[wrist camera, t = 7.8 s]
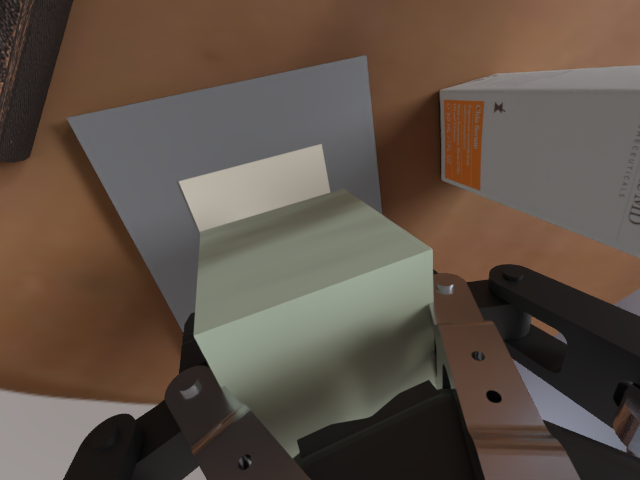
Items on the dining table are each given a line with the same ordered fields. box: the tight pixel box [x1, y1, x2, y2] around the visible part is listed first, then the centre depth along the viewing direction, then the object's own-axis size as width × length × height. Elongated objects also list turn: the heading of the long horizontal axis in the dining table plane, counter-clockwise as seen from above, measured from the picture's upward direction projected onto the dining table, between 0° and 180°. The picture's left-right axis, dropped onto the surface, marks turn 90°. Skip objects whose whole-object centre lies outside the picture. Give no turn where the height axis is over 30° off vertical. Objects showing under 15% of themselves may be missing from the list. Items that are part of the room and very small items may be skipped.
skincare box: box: [439, 65, 640, 258], centre depth 15 cm, size 6×4×12 cm
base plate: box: [67, 55, 382, 333], centre depth 18 cm, size 15×14×1 cm
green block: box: [193, 189, 435, 458], centre depth 11 cm, size 6×6×6 cm
